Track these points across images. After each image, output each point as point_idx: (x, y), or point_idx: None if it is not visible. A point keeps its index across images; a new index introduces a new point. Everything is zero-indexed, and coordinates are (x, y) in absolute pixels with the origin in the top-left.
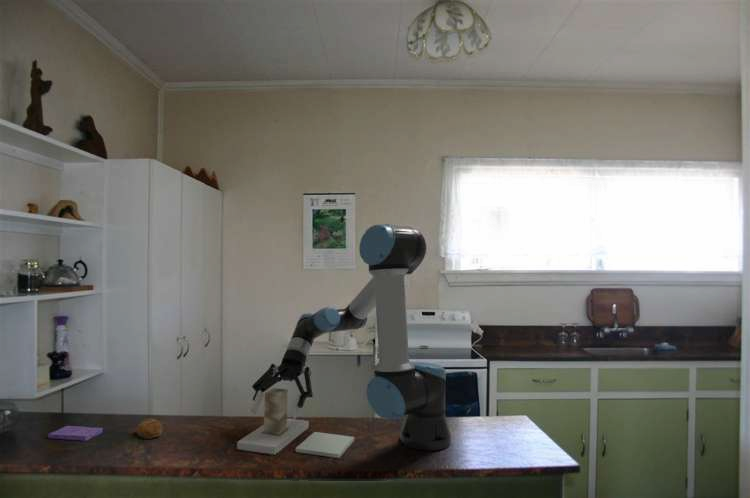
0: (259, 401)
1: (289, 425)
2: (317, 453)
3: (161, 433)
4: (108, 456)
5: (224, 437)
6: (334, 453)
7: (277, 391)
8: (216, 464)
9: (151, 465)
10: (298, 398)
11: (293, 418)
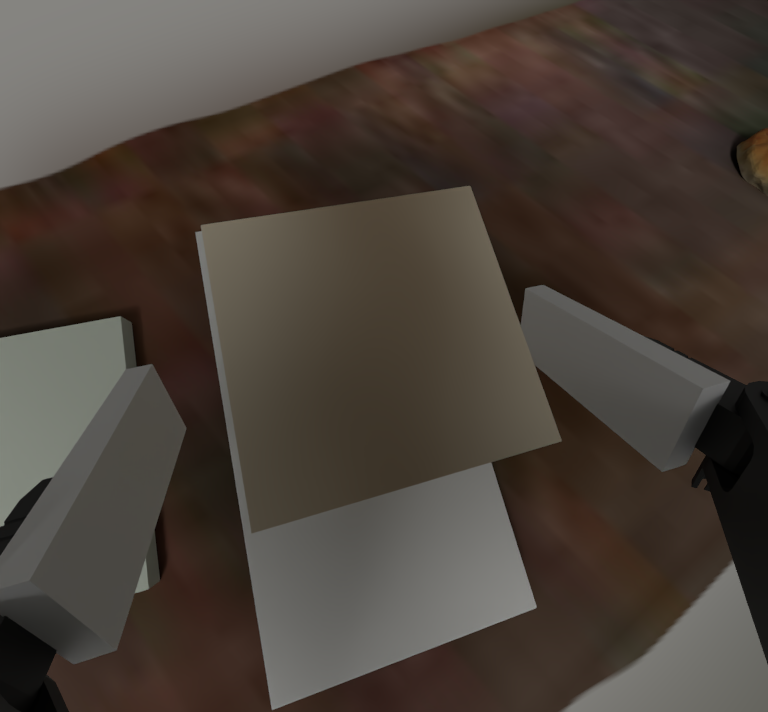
0: (588, 384)
1: (339, 532)
2: None
3: (752, 174)
4: (681, 24)
5: (553, 285)
6: None
7: (338, 316)
8: (360, 99)
9: (528, 27)
10: (28, 518)
11: (180, 423)
